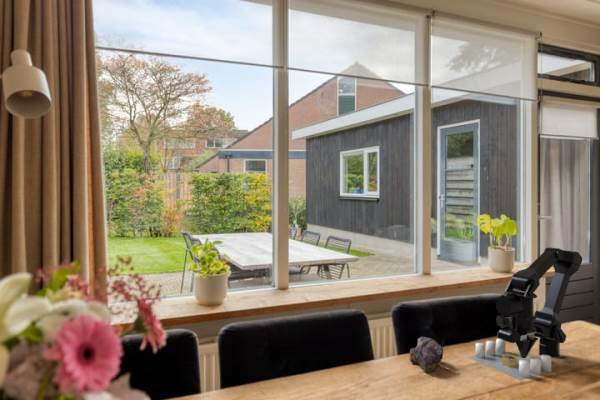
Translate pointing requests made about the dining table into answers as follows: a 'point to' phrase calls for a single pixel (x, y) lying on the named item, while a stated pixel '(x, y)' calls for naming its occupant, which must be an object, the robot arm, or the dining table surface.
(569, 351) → the dining table surface
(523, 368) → the board
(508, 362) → the nut
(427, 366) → the rock
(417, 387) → the dining table surface
